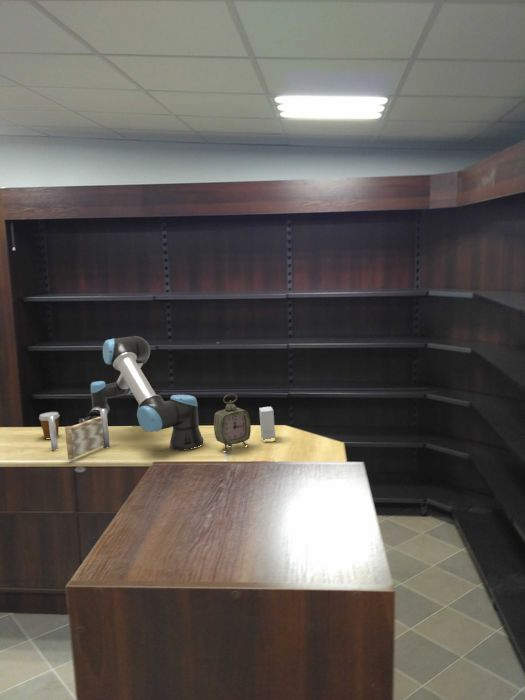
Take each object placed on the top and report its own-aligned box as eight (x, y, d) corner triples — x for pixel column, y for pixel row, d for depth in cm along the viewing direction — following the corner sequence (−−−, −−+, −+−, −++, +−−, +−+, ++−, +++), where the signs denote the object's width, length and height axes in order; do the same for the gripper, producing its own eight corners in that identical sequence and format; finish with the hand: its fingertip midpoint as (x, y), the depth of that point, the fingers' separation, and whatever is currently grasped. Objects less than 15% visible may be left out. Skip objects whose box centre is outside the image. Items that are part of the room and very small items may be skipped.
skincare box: (275, 442, 248) (274, 410, 245) (262, 443, 247) (261, 411, 245) (273, 436, 256) (271, 405, 254) (260, 437, 255) (258, 406, 253)
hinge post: (110, 445, 253) (106, 408, 250) (109, 447, 250) (105, 409, 247) (104, 446, 253) (100, 408, 250) (102, 448, 250) (99, 410, 247)
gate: (101, 444, 250) (98, 415, 248) (105, 445, 249) (102, 415, 247) (66, 459, 233) (63, 427, 231) (70, 459, 232) (67, 428, 230)
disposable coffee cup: (48, 442, 263) (45, 417, 261) (37, 438, 269) (34, 415, 267) (65, 436, 270) (63, 413, 268) (54, 433, 276) (52, 410, 274)
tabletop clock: (223, 455, 234) (220, 398, 230) (213, 449, 241) (209, 394, 237) (251, 447, 242) (249, 392, 238) (241, 442, 249) (238, 389, 245)
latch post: (59, 448, 252) (55, 415, 249) (57, 450, 249) (53, 417, 247) (52, 449, 252) (49, 415, 249) (50, 451, 249) (47, 417, 247)
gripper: (109, 422, 279) (98, 437, 256) (83, 424, 278) (70, 438, 255) (108, 408, 278) (96, 421, 255) (82, 409, 277) (68, 423, 254)
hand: (83, 430), depth 255 cm, fingers closed
